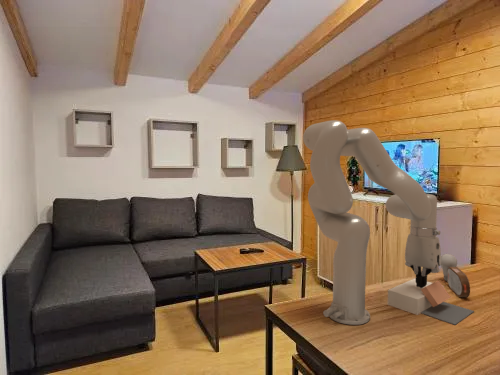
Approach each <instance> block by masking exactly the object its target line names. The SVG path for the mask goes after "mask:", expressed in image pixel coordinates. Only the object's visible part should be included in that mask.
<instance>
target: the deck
mask: <svg viewBox="0 0 500 375" xmlns="http://www.w3.org/2000/svg"><path fill="white" fill-rule="evenodd" d="M432 283H433V282H431V281H427V285H426V286H428V285H430V284H432ZM416 284H417V283H416V277H413V278H412V279H410V280H408V281H404V282H403V283H401V284H398V285H396V286H394V287H392V288H388V289H387V305H388V306H391V307H393V308H396V309H399V310H402V311H405V312H407V313H410V314H413V315H416V316H418V315H420V314H421V312H422V311H424V310H426V309H428V308H429V307H431V306H432V305H431V304H430V302H429V301H428V299H427V298H426V296H425V295H424V293H423V292H422V291H421V289H423V288H424V287H423V288H420V287H417V286H416ZM426 286H425V287H426ZM442 286H443V287H444V288H445V285H442Z"/></svg>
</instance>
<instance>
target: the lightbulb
mask: <svg viewBox="0 0 500 375" xmlns="http://www.w3.org/2000/svg"><path fill="white" fill-rule="evenodd" d="M457 265H458V260H457V258H456V256H454V255H453V254H450V253H444V254H441V265H440V267H441V268H442V275H443V280H444V281H445V282H446V283H448V281H447V269H448V268H449V267H458V266H457Z"/></svg>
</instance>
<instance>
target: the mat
mask: <svg viewBox="0 0 500 375" xmlns="http://www.w3.org/2000/svg"><path fill="white" fill-rule="evenodd" d="M474 312H475V310H471V309H469V308H466V307H461V306H459V305H455V304H452V303H449V302H446V301H444V302H442V303H440V304H439V305H437V306H435V307H433V306H431V307H429V308H428V309H426V310H424V311H422V312H421V313H420V314H422V315H425V316H428V317H430V318H433V319H436V320H440V321H442V322H445V323H447V324H451V325H453V326H456V325H457V324H458V325H459V323H461V322H462V321H464V320H465V319H466V318H468V317H469V316H471V315H472V314H474Z"/></svg>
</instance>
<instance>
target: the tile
mask: <svg viewBox="0 0 500 375" xmlns="http://www.w3.org/2000/svg"><path fill="white" fill-rule="evenodd" d="M431 283H432V284H430V285H428V286H426V287H424V288H423V289H421V291H422V292H423V293H424V295H425V296H426V298H427V299H428V301H429V302H430V304H431V305H432V306H433V307H435V306H437V305H439V304H440V303H442V302H446V301H447V300H448V299H450V298H451V295H450V293H448V292H447V290H446V289H445V286H444V285H442V283H441V281H440V280H437V281H434V282H431ZM443 286H444V287H443Z"/></svg>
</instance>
